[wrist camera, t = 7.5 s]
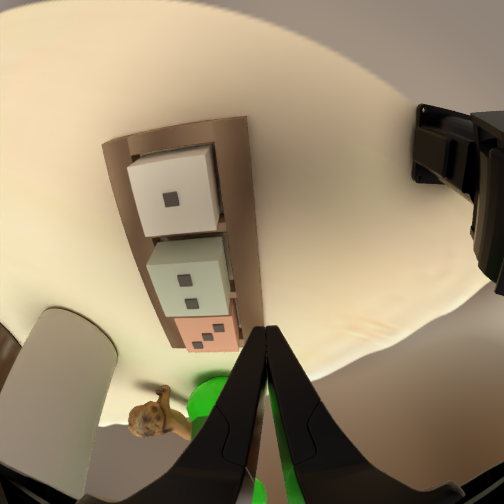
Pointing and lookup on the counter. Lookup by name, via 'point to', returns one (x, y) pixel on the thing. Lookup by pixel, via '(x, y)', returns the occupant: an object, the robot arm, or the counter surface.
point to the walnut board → (233, 220)
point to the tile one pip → (176, 191)
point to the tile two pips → (191, 277)
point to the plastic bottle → (199, 412)
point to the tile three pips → (210, 331)
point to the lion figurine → (158, 418)
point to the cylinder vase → (56, 400)
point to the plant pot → (7, 354)
